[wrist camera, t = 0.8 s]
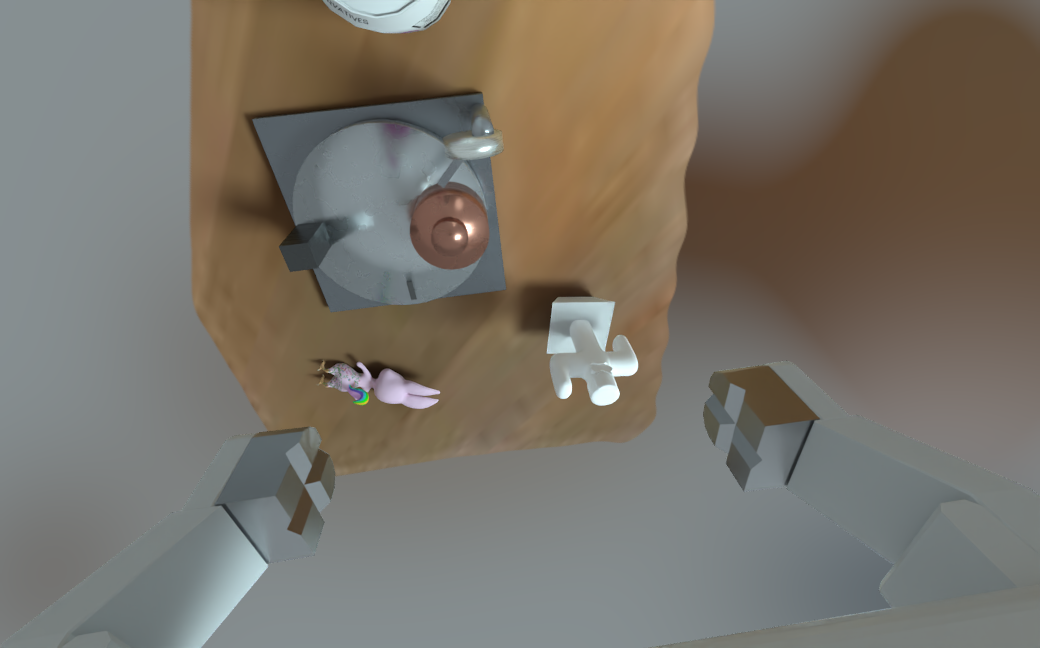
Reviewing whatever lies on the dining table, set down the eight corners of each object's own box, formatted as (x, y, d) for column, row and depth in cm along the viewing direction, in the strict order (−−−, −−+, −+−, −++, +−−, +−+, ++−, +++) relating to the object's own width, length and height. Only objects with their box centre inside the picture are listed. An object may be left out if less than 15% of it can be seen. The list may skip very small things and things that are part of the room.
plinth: (256, 117, 37) (251, 119, 36) (482, 92, 38) (482, 93, 37) (333, 307, 49) (330, 312, 48) (505, 285, 50) (506, 289, 49)
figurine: (604, 334, 55) (645, 420, 43) (533, 336, 54) (554, 424, 42) (614, 286, 51) (662, 365, 39) (538, 286, 50) (562, 368, 38)
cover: (406, 186, 39) (399, 205, 35) (482, 177, 39) (484, 194, 35) (422, 255, 43) (418, 280, 39) (491, 246, 43) (494, 270, 39)
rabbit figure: (327, 379, 56) (438, 404, 58) (306, 411, 51) (428, 437, 53) (328, 342, 53) (445, 370, 55) (305, 372, 48) (435, 402, 49)
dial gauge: (431, 108, 37) (421, 131, 29) (493, 101, 38) (502, 122, 29) (442, 165, 40) (436, 202, 32) (499, 159, 41) (509, 193, 32)
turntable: (267, 131, 37) (231, 149, 31) (472, 108, 38) (474, 121, 32) (336, 305, 47) (318, 342, 41) (496, 284, 48) (501, 318, 42)
